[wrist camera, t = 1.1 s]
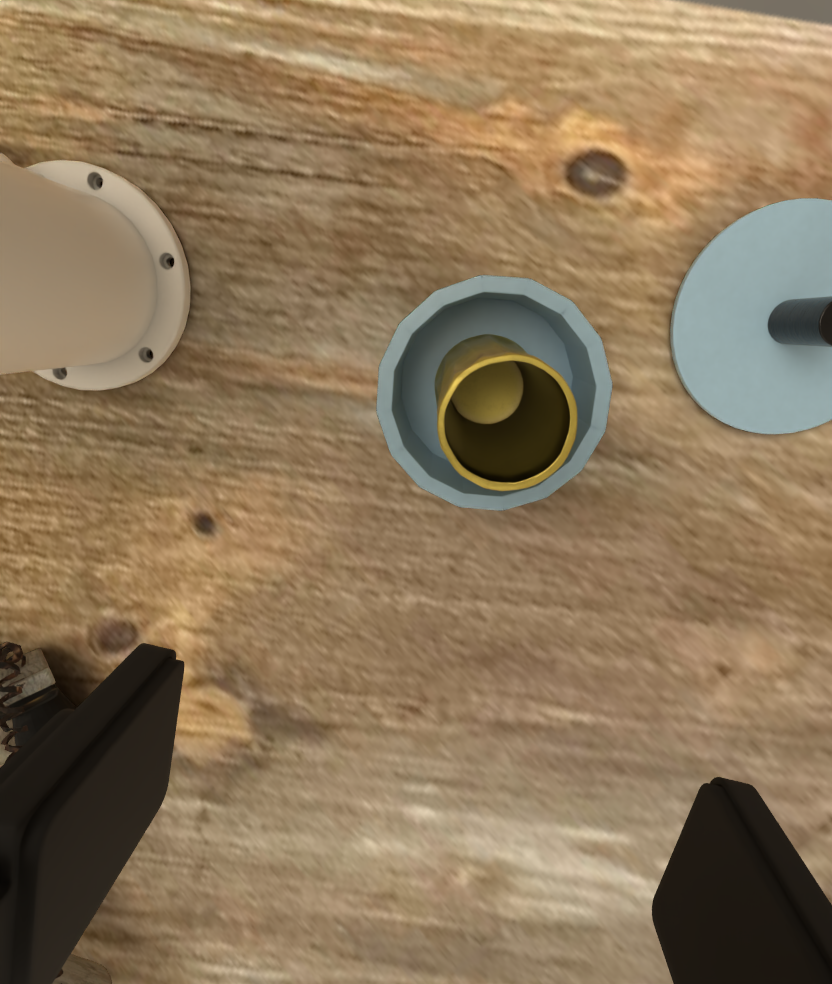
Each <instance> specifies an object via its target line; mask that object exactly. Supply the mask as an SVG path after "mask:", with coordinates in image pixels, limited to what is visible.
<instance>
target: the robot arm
mask: <svg viewBox="0 0 832 984" xmlns="http://www.w3.org/2000/svg"><path fill="white" fill-rule="evenodd" d="M102 180H103V185H102V187H101V186H100V183H101V181H102ZM172 258H174V265H173V267H172V266H171V265H170V260H171V259H172ZM190 292H191V285H190V278H189V270H188V264H187V261H186V258H185V254H184V251H183V248H182V245H181V242H180V240H179V239H178V237H177V235H176V233H175V231H174V229H173V227H172V225H171V223H170V222H169V220H168V219H167V218H166V216H165V215H164V214H163V212H162V211H161V209H160V208H159V207H158V205H157V204H156V203H155V202H154V201H153V200H151V199H150V198H149V197H148V196H147V195H146V194H145V193H144V192H143V191H142V190H141V189H140V188H138V187H137V186H135V185H134V184H132V183H131V182H129V181H128V180H126V179H125V178H123V177H121V176H119V175H117V174H115V173H113V172H111V171H108V170H106V169H104V168H101V167H98V166H95V165H92V164H88V163H85V162H80V161H70V160H55V161H47V162H40V163H37V164H35V165H32V166H29V167H26V168H22V167H19V166H17V165H14V163H13V162H12V161H11V160H10V159H9V158H8V157H7V156H6V155H4V154H3V153H0V375H1V374H10V373H19V372H28V371H33V372H34V373H36V374H38V375H39V376H41V377H42V378H44V379H46V380H49V381H51V382H54V383H56V384H59V385H61V386H65V387H70V388H74V389H79V390H107V389H113V388H119V387H122V386H125V385H129V384H132V383H135V382H137V381H139V380H141V379H143V378H144V377H146V376H148V375H150V374H151V373H153V372H154V371H155V370H156V369H157V368H158V367H159V366H161V365H162V364H163V363H164V362H165V361H166V360H167V359H168V357H169V356H170V354H171V353H172V352H173V350H174V349H175V348H176V346H177V344H178V342H179V340H180V338H181V336H182V333H183V331H184V329H185V326H186V322H187V318H188V313H189V309H190ZM150 350H151V351H152V352H153V358H151V357H150V355H149V352H150ZM65 369H66V370H67V373H66V372H65ZM183 674H184V662H183V661H180V660H176V652H175V651H174V650H171V649H167V648H163V647H158V646H154V645H150V644H145V643H142V644H140V645H139V646H138V647H137V648H136V649H135V650H134V651H133V652H132V653H131V654H130V655H129V656H128V657H127V658H126V659H125V660H124V661H123V662H122V663H121V664H120V665H119V666H118V667H117V668H116V669H115V670H114V671H113V672H112V673H111V674H110V675H109V676H108V677H107V678H106V679H105V680H104V681H103V682H102V683H101V684H100V685H99V686H98V687H97V688H96V689H95V690H94V691H93V692H92V693H91V694H90V695H89V696H88V697H87V698H86V699H85V700H84V701H83V702H82V703H81V704H80V705H79V706H78V707H77V708H76V709H75V710H73V709H69V708H67V709H63V710H61V711H59V712H58V713H57V714H56V715H54V716H53V717H52V718H51V719H50V720H49V721H48V722H47V723H46V724H45V725H44V726H43V727H42V728H41V729H40V730H39V731H38V732H37V733H36V734H35V735H34V736H33V737H32V738H30V739H29V740H28V741H27V742H26V743H25V744H24V745H23V746H22V747H21V748H20V749H19V750H18V751H17V752H16V753H15V754H14V755H13V756H12V757H11V758H10V759H9V760H8V761H7V762H6V763H5V764H4V765H3V766H2V767H1V768H0V984H52V983H53V982H54V980H55V978H56V977H57V975H58V973H59V972H60V970H61V969H62V967H63V965H64V964H65V962H66V960H67V959H68V957H69V955H70V954H71V952H72V951H73V949H74V947H75V946H76V944H77V942H78V941H79V939H80V937H81V936H82V934H83V933H84V931H85V929H86V928H87V926H88V924H89V923H90V921H91V919H92V918H93V916H94V915H95V913H96V911H97V910H98V908H99V906H100V905H101V903H102V902H103V900H104V898H105V897H106V895H107V893H108V892H109V890H110V888H111V887H112V885H113V884H114V882H115V880H116V879H117V877H118V875H119V874H120V872H121V870H122V869H123V867H124V866H125V864H126V862H127V861H128V859H129V857H130V856H131V854H132V852H133V851H134V849H135V848H136V846H137V844H138V843H139V841H140V839H141V838H142V836H143V834H144V833H145V831H146V830H147V828H148V826H149V825H150V823H151V821H152V820H153V818H154V817H155V815H156V813H157V812H158V810H159V808H160V806H161V804H162V802H163V800H164V797H165V794H166V791H167V787H168V782H169V774H170V767H171V760H172V753H173V746H174V738H175V731H176V724H177V717H178V710H179V702H180V695H181V688H182V681H183ZM652 918H653V923H654V926H655V929H656V932H657V935H658V938H659V941H660V944H661V947H662V950H663V953H664V956H665V959H666V962H667V965H668V968H669V971H670V974H671V977H672V980H673V983H674V984H832V905H831V903H830V902H829V900H828V899H827V897H826V896H825V894H824V893H823V891H822V890H821V888H820V886H819V885H818V883H817V882H816V880H815V879H814V877H813V876H812V874H811V873H810V871H809V870H808V868H807V867H806V865H805V864H804V862H803V861H802V859H801V857H800V856H799V854H798V853H797V851H796V850H795V848H794V847H793V845H792V844H791V842H790V841H789V839H788V838H787V836H786V835H785V833H784V831H783V830H782V828H781V827H780V825H779V824H778V822H777V821H776V819H775V818H774V816H773V815H772V813H771V812H770V810H769V809H768V807H767V805H766V804H765V802H764V801H763V799H762V798H761V796H760V795H759V793H758V792H757V790H756V789H755V788H754V787H753V786H752V785H749V784H746V783H742V782H738V781H733V780H729V779H725V778H721V777H716V778H714V779H713V780H712V781H711V782H710V784H708V783H705V784H703V785H702V786H701V787H700V789H699V791H698V794H697V796H696V798H695V801H694V803H693V806H692V808H691V810H690V813H689V815H688V817H687V820H686V822H685V825H684V827H683V829H682V832H681V834H680V837H679V839H678V841H677V844H676V846H675V848H674V851H673V853H672V856H671V858H670V860H669V863H668V865H667V867H666V870H665V872H664V875H663V877H662V879H661V882H660V884H659V886H658V889H657V891H656V894H655V896H654V899H653V904H652Z"/></svg>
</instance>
